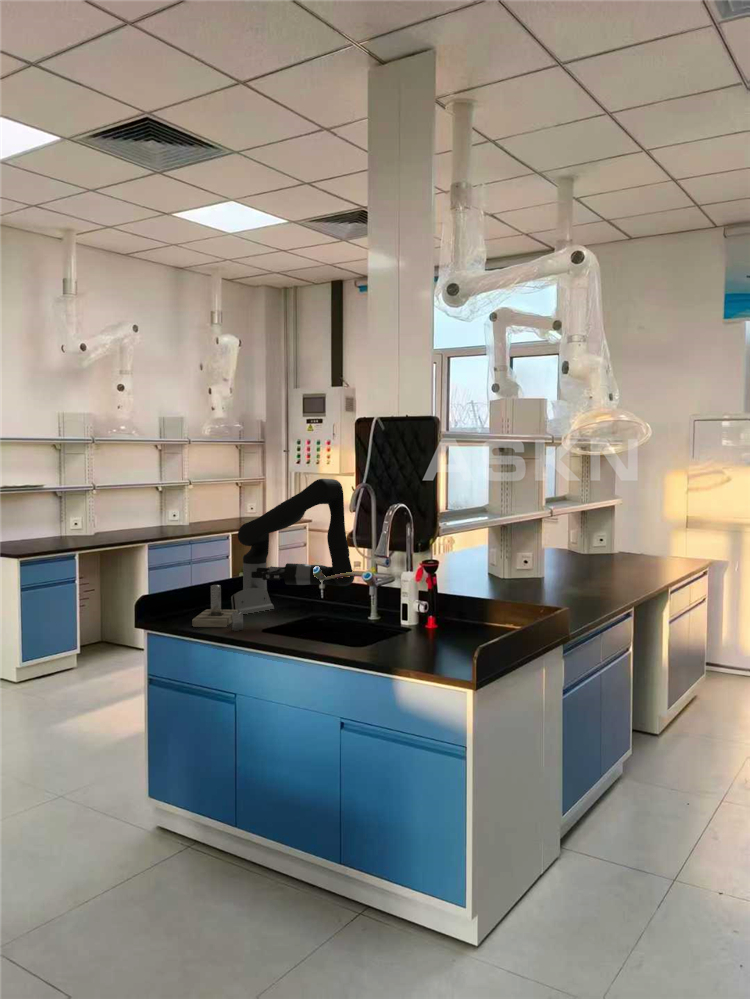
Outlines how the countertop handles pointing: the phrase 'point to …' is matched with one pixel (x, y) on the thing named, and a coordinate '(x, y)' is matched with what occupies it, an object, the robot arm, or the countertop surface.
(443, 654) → the countertop surface
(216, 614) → the long pin
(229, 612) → the hole plate
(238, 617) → the short pin
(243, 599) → the hinge
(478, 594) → the countertop surface
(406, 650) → the countertop surface
